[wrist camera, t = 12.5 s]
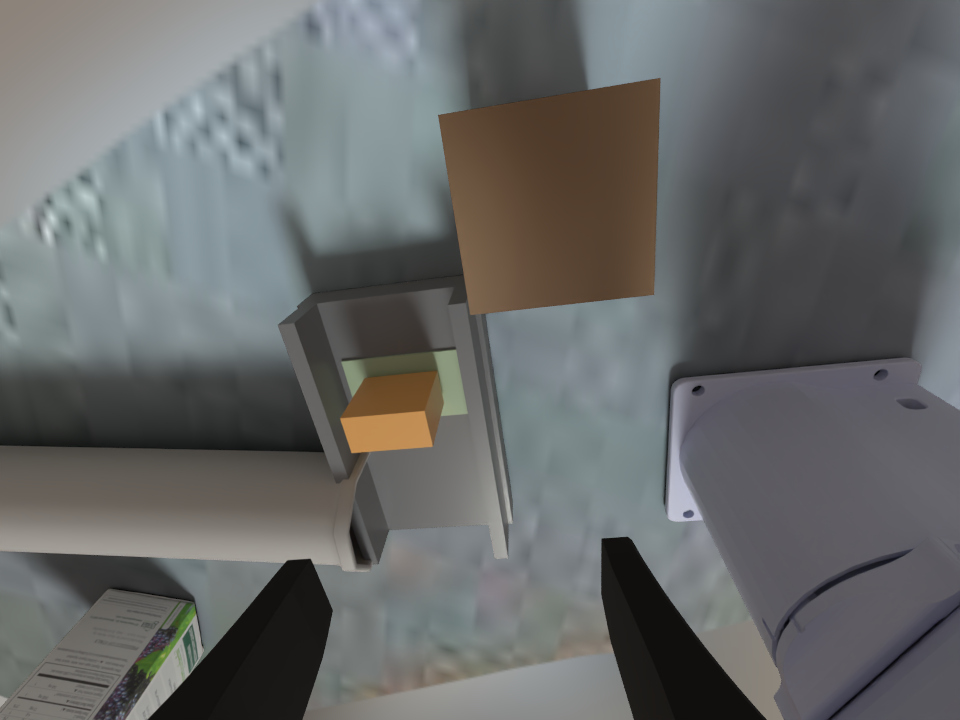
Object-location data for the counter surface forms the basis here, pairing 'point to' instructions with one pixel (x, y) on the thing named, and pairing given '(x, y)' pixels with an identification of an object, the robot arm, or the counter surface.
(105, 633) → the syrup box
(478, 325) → the grey open tray
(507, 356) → the counter surface
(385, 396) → the switch knob
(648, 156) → the walnut peg
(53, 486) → the tube
